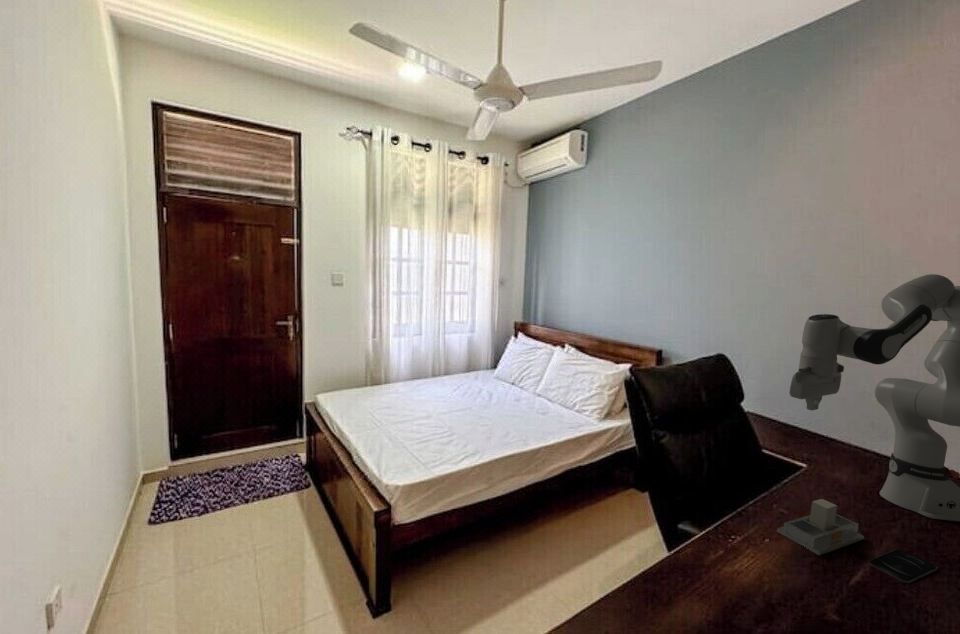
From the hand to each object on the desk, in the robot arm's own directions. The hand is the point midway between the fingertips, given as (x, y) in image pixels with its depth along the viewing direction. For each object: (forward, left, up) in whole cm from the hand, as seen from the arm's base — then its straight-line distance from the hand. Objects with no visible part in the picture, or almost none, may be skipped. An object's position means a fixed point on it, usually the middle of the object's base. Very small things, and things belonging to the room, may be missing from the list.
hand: (812, 409), depth 128 cm
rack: (+4, +23, -29) cm, 37 cm away
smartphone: (-10, +30, -29) cm, 43 cm away
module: (+4, +23, -28) cm, 36 cm away
